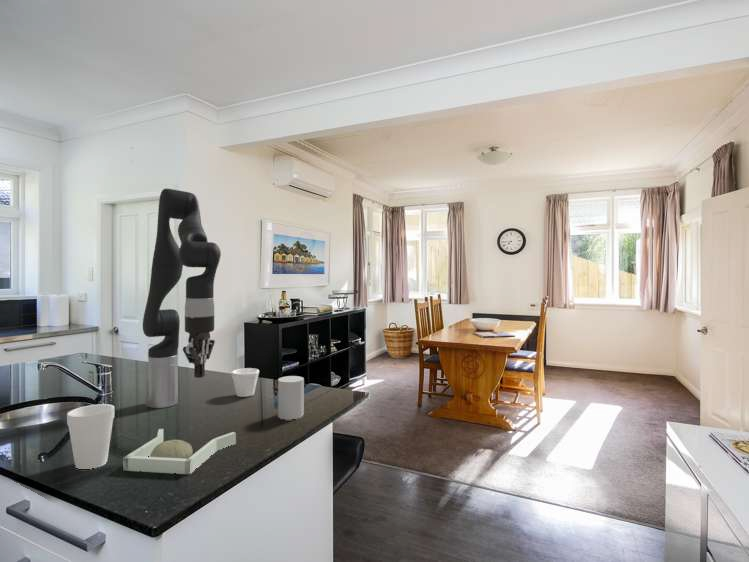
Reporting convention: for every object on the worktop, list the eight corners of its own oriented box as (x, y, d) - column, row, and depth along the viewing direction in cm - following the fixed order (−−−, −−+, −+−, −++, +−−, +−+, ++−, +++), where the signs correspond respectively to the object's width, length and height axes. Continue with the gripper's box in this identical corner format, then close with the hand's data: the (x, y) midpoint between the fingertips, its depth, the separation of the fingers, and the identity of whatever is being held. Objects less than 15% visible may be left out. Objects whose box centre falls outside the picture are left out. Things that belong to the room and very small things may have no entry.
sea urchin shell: (183, 463, 97) (160, 438, 97) (160, 486, 97) (137, 461, 97) (202, 447, 106) (181, 424, 106) (181, 468, 106) (160, 445, 106)
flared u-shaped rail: (111, 469, 97) (111, 457, 97) (159, 439, 115) (159, 428, 115) (202, 475, 95) (202, 462, 95) (236, 443, 113) (236, 432, 113)
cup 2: (308, 413, 137) (308, 377, 137) (295, 421, 130) (295, 383, 129) (286, 410, 140) (286, 375, 140) (273, 418, 132) (273, 380, 132)
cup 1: (260, 397, 154) (260, 372, 154) (232, 400, 151) (232, 375, 151) (257, 390, 164) (257, 367, 164) (230, 393, 160) (230, 369, 160)
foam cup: (83, 456, 104) (83, 404, 104) (122, 454, 105) (122, 403, 105) (58, 474, 95) (57, 417, 95) (100, 472, 96) (100, 416, 95)
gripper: (199, 311, 121) (199, 370, 122) (172, 316, 108) (172, 382, 108) (224, 312, 120) (223, 371, 121) (200, 317, 107) (199, 384, 108)
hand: (199, 376), depth 115 cm, fingers closed
